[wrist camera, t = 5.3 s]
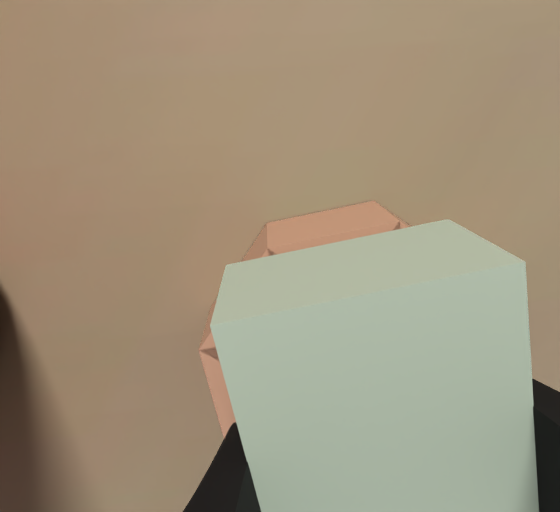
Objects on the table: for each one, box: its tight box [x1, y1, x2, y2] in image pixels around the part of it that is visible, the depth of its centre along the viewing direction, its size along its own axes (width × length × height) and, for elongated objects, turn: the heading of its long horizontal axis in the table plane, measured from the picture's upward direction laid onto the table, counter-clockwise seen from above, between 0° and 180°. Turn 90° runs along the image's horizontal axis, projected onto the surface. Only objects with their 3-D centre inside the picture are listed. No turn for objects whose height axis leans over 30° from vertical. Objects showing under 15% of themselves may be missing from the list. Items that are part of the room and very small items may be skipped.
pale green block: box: [210, 219, 539, 512], centre depth 11 cm, size 9×6×4 cm, turn 12°
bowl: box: [199, 201, 412, 438], centre depth 15 cm, size 8×8×3 cm
